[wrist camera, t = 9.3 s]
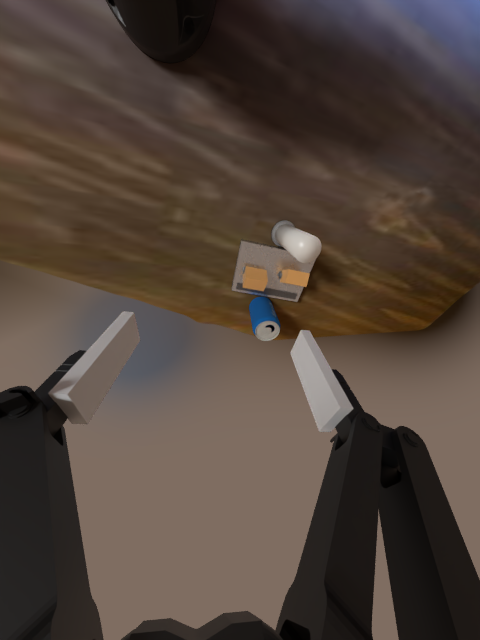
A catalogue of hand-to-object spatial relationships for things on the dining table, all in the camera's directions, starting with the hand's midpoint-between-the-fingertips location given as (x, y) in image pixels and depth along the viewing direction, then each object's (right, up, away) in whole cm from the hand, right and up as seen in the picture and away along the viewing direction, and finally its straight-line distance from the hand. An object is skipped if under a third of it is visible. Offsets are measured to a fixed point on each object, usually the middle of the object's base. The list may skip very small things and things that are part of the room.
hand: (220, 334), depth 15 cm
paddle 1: (+5, +13, +28) cm, 32 cm away
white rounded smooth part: (+11, +21, +26) cm, 35 cm away
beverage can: (+7, +5, +36) cm, 37 cm away
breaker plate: (+9, +13, +31) cm, 35 cm away
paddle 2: (+14, +12, +30) cm, 35 cm away
